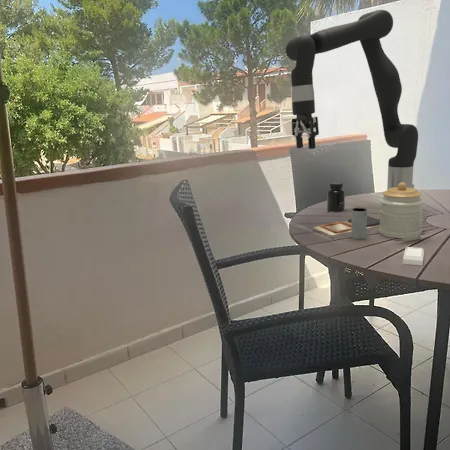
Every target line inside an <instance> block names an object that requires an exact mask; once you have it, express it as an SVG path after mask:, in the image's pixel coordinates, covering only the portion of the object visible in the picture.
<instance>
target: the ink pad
mask: <svg viewBox="0 0 450 450" xmlns="http://www.w3.org/2000/svg"><path fill="white" fill-rule="evenodd" d="M373 217H374V216H370V215H367V223H366V227H371V226H376V225H379V224H380V220H379V219H380V218H378V219H376V218H377V217H375V218H373ZM347 221H348V222H350V223H352V218H351V219H347Z"/></svg>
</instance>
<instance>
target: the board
mask: <svg viewBox="0 0 450 450" xmlns="http://www.w3.org/2000/svg"><path fill="white" fill-rule="evenodd" d="M372 217H373V218H376V219H379V220H380V218H378V217H375V216H372ZM351 225H352V223H350V222H348V220H346V221H337V222H330V223H326V224H321V225H319V226H314V227H312V229H311V230H312V232H314V233H317V234H319V235H322V236H324V237H326V238H329V239H331V240H332V239H333V240H334V239H335V237H332V236H337V235H340V234H346V233H351ZM376 227H379V225H376V226H371V227H366V230H368V229H371V228H376Z"/></svg>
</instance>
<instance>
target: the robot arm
mask: <svg viewBox="0 0 450 450" xmlns="http://www.w3.org/2000/svg"><path fill="white" fill-rule="evenodd" d="M393 27H394V18H393V16H392V14H391V13H390V12H389V11H388V10H385V9H376V10H373V11H371V12H367V13H365V14H362V15H361V16H360V17H359V18H358V20H357V21H356V20H355V21H352V22H348V23H345V24H340V25H339V24H338V25H335V26H331V27H328V28H325V29H321V30H318V31H316V32H314V33H310V34H309V35H308V34H302V35H300V36H296V37H294V38H292V39H290V40H289V41H288V42H287V44H286V46H285V55H286V56H287V58H288V59H289V60H292V61H295V62H296V63H295V67H294V68H293V69H291V72H290V74H291V75H290V77H291V81H290V82H291V108H292V110H291V111H292V115H293V116H296V117H294V118H292V119H291V135H292V136H293V137H294V138H295V144H296V149H302V148H303V147H304V139H303V134H304V133H306V135H307V143H308V149H309V150H313V149H316V137H317V136H319V133H320V131H319V130H320V129H319V120H318V116H313V115H314V114H315V113H316V104H315V101H316V100H315V90H314V81H313V80H314V79H313V69H314V64H315V58H316V55H317V54H318V55H319V54H322V53H327V52H330V51H332V50H335V49H339V48H342V47H344V46H346V45H349V44H350V45H351V44H353V43H356V42H358V41H359V42H360V45H361V47H362V49H363V52H364V56H365V59H366V61H367V64H368V69H369V73H370V75H371V80H372V83H373V85H372V86H373V89H374V92H375V96H376V99H377V104H378V107H379V111H380V116H381V121H382V128H383V129H382V130H383V136H384V140H385V143H386V144H387V146H389V147H391V148H394V149H397V152H396V155H395V156H393V157H390V158H389V159H388V167H387V183H386V184H387V186H386V187H387V188H386V191H387V190H388V189H389V188H394V187H398V184H399V183H401V182H404V183H406V185H407V187H408V188H414V189H415V185H414V184H413V183H414V182H413V179H414V164H415V163H414V162H415V161H416V158H417V154H418V153H417V152H418V141H419V131H418V128H417V127H416V126H415V125H413V124H409V123H401V121H400V118H399V117H400V116H399V112H398V110H399V109H398V108H399V103H400V101H401V96H402V93H403V92H402V91H403V87H402V81H401V79H400V73H399V71H398V69H397V66H395V64H394V63H393V61H392V60H391V59H390V58H389V57H388V56H387V54H386V53H385V51H384V49H383V47H382V46H383V45H382V42H381V40H380V39H382V38H385V37H387V36H388V35H389V34H390V33H391V31H392V29H393ZM312 114H313V115H312Z"/></svg>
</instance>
